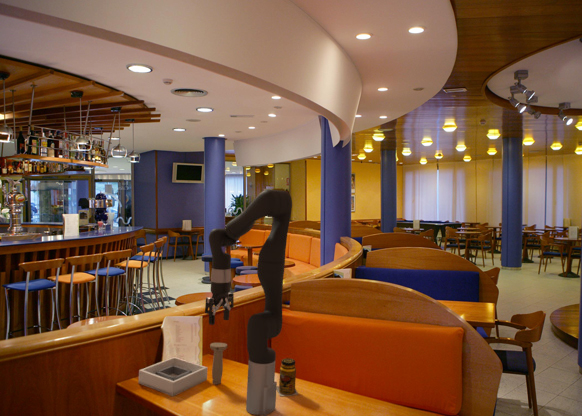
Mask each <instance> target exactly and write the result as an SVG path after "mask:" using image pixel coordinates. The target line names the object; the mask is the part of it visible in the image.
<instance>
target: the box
mask: <svg viewBox="0 0 582 416" xmlns="http://www.w3.org/2000/svg"><path fill="white" fill-rule="evenodd" d="M208 369H209V368H208V366H204V365H201V364H198V363H195V362H192V361H189V360H185V359H182V358H179V357H176V356H173V357H171V358H168V359H165V360H163V361H159V362H157V363H154V364H152V365H149V366H146V367H145V368H141V369H139V370H138V381H137V382H138V384H140V385H141V386H144V387H147V388H150V389H151V390H155V391H157V392H160V393H163V394H165V395H168V396H171V397H175V396H177V395H180V394H181V393H183V392H185V391H187V390H190V389H191V388H193V387H195V386H198V385H199V384H201V383H204V382H206V381H207V380H208Z"/></svg>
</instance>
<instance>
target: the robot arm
mask: <svg viewBox="0 0 582 416" xmlns="http://www.w3.org/2000/svg"><path fill="white" fill-rule="evenodd" d="M292 208H293V200H292V196H291V194H290V193H289V192H288V191H286V190H280V189H265V190H263V191H261V192H260V193H259V194H258V195H257V196H256V197H255V198H254V199H253V200H252V201H251V203H250V204H248V206H247V207H246V208H245V209H244V210H243V211H242V212H241V213H240V214H239V215H237V216H236V217H234V218H232V219H231V220H230V221H228V222H227V223H226V225H225V228H213V229H211V231H210V233H209V235H208V243H209V247H210V248H209V249H210V253H211V258H212V262H211V263H212V265H211V273H210V276H211V277H210V293H211V295H212V296H211V297H205V306H204V313H205V314H206V315H208V324H209V325H210V326H211V325H212V326H214V325H215V324H216V323H215V321H216V312H217V311H218V310H219V309H220V308H223V319H222V320H224V321H229V319H230V311H231V310H232V309H233V308H234V305H235V304H234V299H235V298H234V293H233V292H231V281H232V271H231V269H232V267H231V266H232V256H231V254H230V253H227V252H224V251H223V247H224V248H225V247H232V246H234V245H235V244H237V242H238V241H239V240H240V238H241V237H242V236H244V235H246V234H247V233H249V232H250V231H251V230H252V229H253V228H254V224H255V222H256V221H257V220H260V219H262V218H265V217H267V218H272V224H271V229H270V233H269V235H268V237H267V238H266V240H265V241H264V243H263V245H262V247H261V248H260V251H259V253H258V258H257V259H258V260H257V270H256V271H257V278H258V281H259V284H260V285H261V288H262V290H263V293H264V308H263V309H264V310H263V311H261V312H258V313H255V314H252V315H251V316H250V317H249V318H248V320H247V321H248V322H247V324H246V325H247V326H246V327H247V328H246V349H247V353H248V363H247V364H248V366H247V368H248V369H247V370H248V371H247V382H246V402H245V403H246V405H245V409H246V412H248V413H249V414H251V415H254V416H268V415H269V414H272V412H274V411H276V403H277V401H276V400H277V390H276V388H277V385H278V383H277V381H275V376H276V359H277V356H276V355H277V353H276V350H274V349H273V348H271V347H268V340H271V339H273V338H276V337H278V336H279V335H280V333H281V332H282V328H283V291H284V290H283V289H284V276H285V265H286V252H287V251H286V250H287V242H288V234H289V233H288V232H289V226H290V221H291V216H292Z"/></svg>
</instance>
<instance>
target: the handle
mask: <svg viewBox="0 0 582 416" xmlns="http://www.w3.org/2000/svg"><path fill="white" fill-rule="evenodd" d="M209 348H210V349H211V350H212V351H213V358H212V367H211V378H212V384H213V385H220V384H221V383H222V379H223V369H224V363H223V356H224V355H223V352H224V351H225V350H226V349H228V344H227V343H225V342H212V343H210V344H209Z"/></svg>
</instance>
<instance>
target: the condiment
mask: <svg viewBox="0 0 582 416" xmlns="http://www.w3.org/2000/svg"><path fill="white" fill-rule="evenodd" d="M296 374H297V368H296V360H295V359H293V358H291V357H290V358H288V357H287V358H283V359H281V365H280V368H279V380H278V381H279V382H278V386H277V388H276V393H278V395H279V397H289V396H291V397H292V396H297V395H300V393H299V392H298V391H297V390H296V389H297V388H296V380H297V379H296V377H297V375H296Z"/></svg>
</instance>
